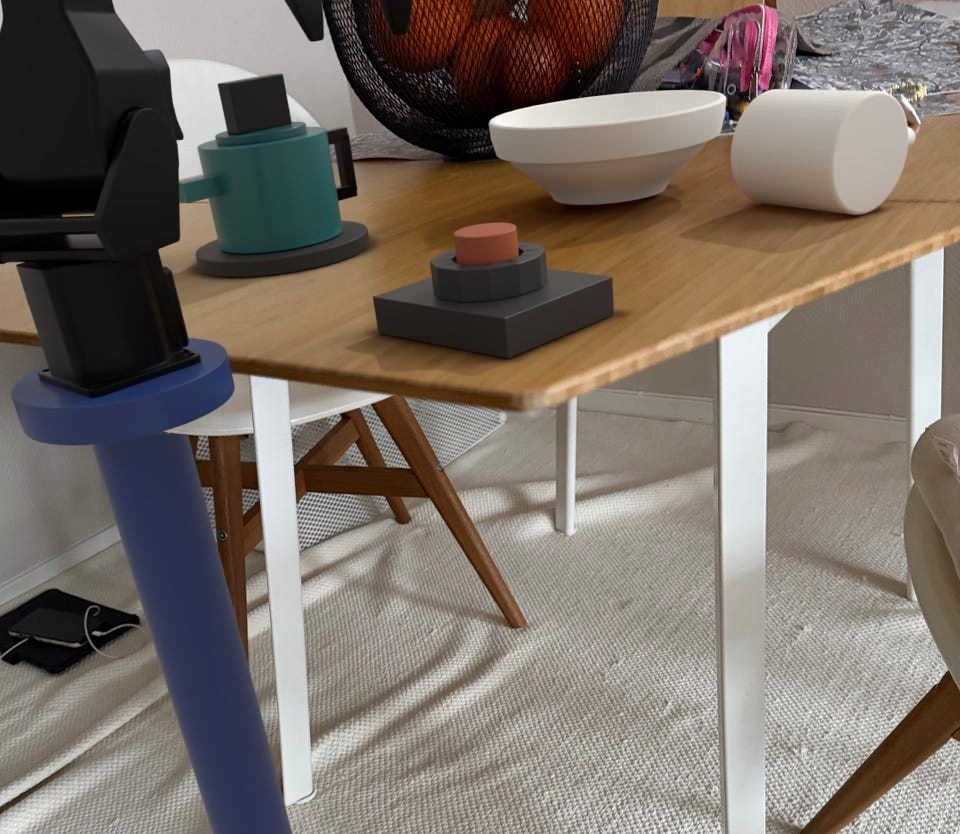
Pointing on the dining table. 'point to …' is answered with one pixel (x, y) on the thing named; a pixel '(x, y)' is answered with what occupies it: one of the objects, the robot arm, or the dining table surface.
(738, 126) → the mug
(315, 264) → the kettle base
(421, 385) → the dining table surface
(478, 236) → the switch
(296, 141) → the kettle
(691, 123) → the bowl
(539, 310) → the switch block
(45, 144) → the robot arm
